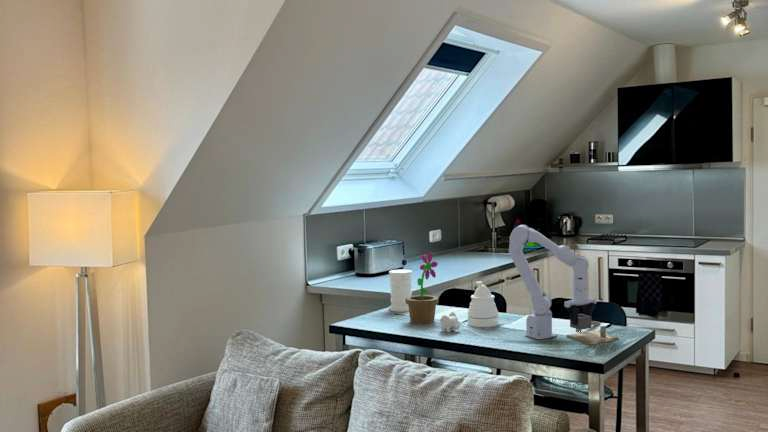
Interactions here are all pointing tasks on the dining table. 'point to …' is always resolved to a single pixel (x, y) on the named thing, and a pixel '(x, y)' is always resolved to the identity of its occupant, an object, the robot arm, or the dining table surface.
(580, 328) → the collar
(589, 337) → the post board
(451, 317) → the elephant figurine
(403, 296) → the decorative container
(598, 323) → the caliper
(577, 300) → the robot arm
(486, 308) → the honey pot
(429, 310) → the flowerpot
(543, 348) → the dining table surface
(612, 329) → the dining table surface
